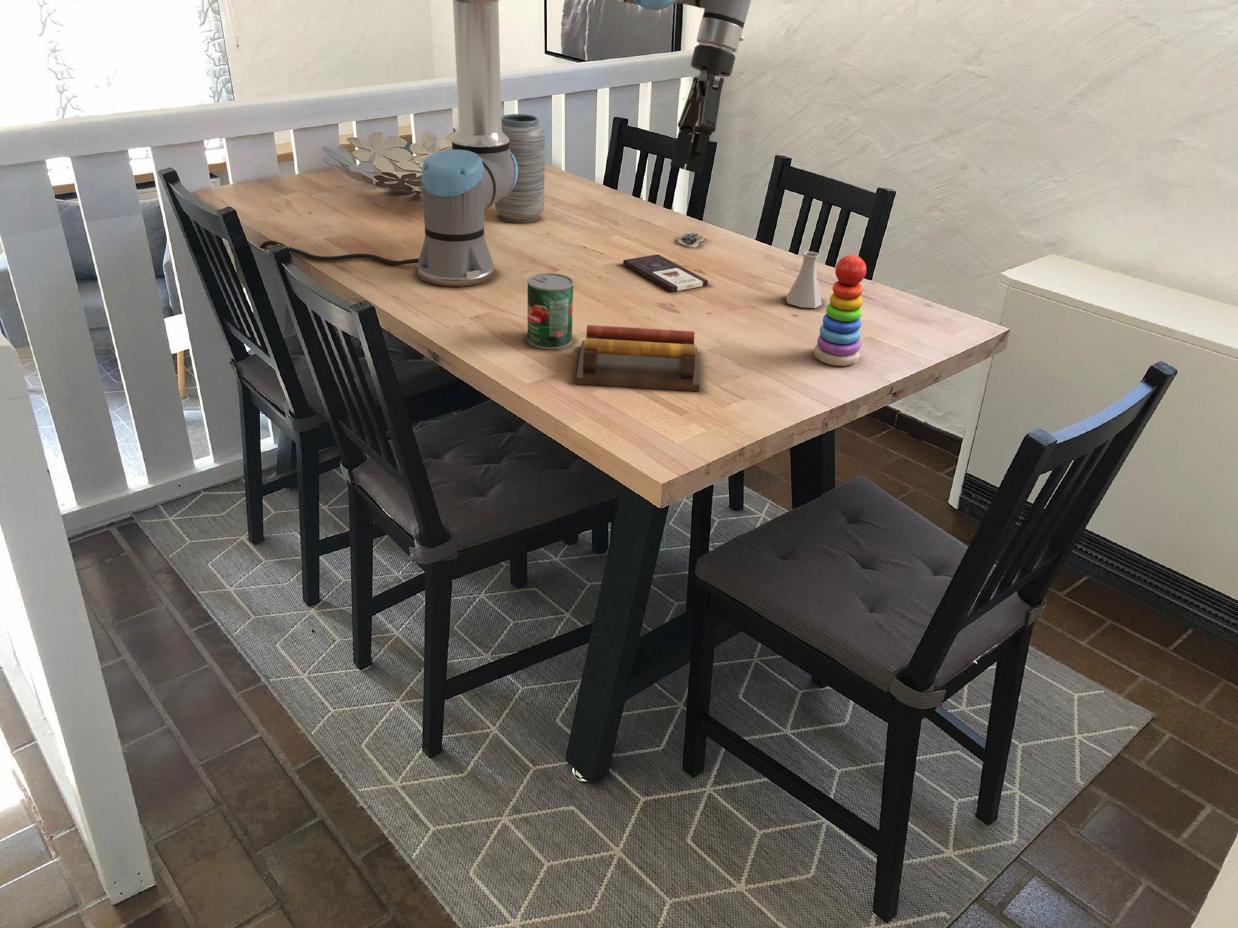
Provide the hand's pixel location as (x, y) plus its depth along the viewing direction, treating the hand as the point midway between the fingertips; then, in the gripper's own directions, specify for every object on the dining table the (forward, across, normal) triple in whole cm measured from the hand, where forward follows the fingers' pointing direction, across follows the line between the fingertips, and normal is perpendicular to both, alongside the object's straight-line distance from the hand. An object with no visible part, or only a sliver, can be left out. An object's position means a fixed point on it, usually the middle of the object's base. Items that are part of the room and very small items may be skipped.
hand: (684, 170), depth 181 cm
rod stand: (+33, -26, +5) cm, 42 cm away
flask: (+19, +3, -31) cm, 36 cm away
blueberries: (+15, +40, -15) cm, 45 cm away
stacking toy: (+24, -23, -30) cm, 45 cm away
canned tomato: (+34, -15, +19) cm, 41 cm away
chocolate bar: (+21, +18, -6) cm, 29 cm away
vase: (+20, +57, +24) cm, 65 cm away
